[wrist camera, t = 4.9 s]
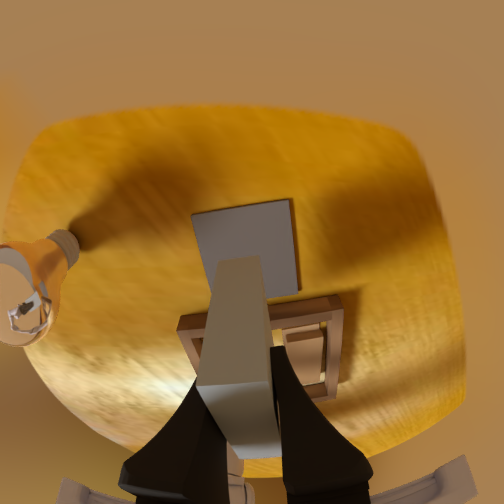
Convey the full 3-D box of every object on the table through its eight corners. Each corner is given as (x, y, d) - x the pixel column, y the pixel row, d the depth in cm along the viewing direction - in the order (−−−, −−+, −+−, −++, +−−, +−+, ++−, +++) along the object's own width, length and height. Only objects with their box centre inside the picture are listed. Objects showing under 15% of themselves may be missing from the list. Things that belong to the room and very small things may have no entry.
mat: (297, 291, 23) (298, 293, 22) (215, 303, 23) (215, 305, 23) (287, 199, 19) (288, 200, 19) (191, 214, 20) (190, 216, 19)
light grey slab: (274, 346, 18) (284, 456, 11) (241, 350, 18) (239, 459, 11) (259, 254, 15) (267, 380, 7) (218, 260, 15) (195, 386, 8)
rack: (332, 385, 29) (335, 398, 27) (217, 399, 30) (216, 412, 28) (337, 294, 23) (343, 308, 21) (180, 315, 24) (176, 330, 22)
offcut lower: (317, 367, 29) (319, 374, 28) (287, 373, 29) (288, 379, 28) (316, 316, 25) (319, 323, 24) (280, 323, 25) (281, 330, 25)
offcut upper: (317, 374, 28) (319, 381, 27) (287, 379, 28) (288, 386, 27) (320, 329, 25) (323, 336, 24) (285, 335, 25) (287, 342, 24)
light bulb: (74, 187, 18) (-34, 256, 7) (118, 255, 21) (44, 361, 10) (34, 227, 20) (-50, 297, 9) (73, 284, 22) (8, 373, 12)
